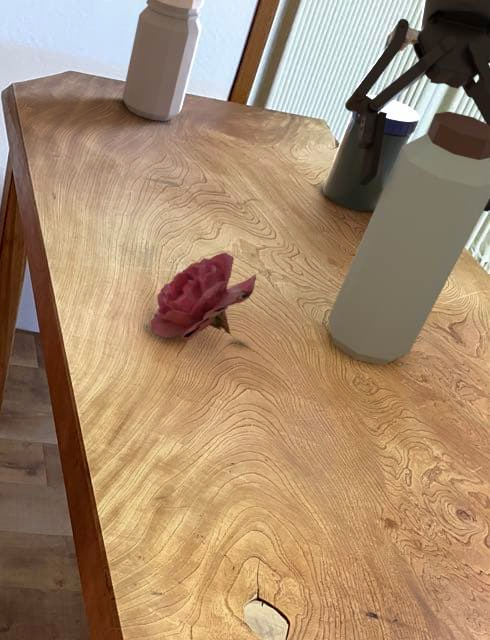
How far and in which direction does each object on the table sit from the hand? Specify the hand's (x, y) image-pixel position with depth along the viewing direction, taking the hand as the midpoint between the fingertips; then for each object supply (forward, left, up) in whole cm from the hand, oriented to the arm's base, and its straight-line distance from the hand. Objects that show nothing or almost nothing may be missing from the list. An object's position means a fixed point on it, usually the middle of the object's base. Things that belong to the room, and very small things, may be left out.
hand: (430, 193), depth 93 cm
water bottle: (-2, +1, -18) cm, 18 cm away
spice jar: (+34, -23, -17) cm, 45 cm away
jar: (+64, -3, -18) cm, 67 cm away
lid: (+34, -23, -5) cm, 42 cm away
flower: (+3, +22, -18) cm, 28 cm away
